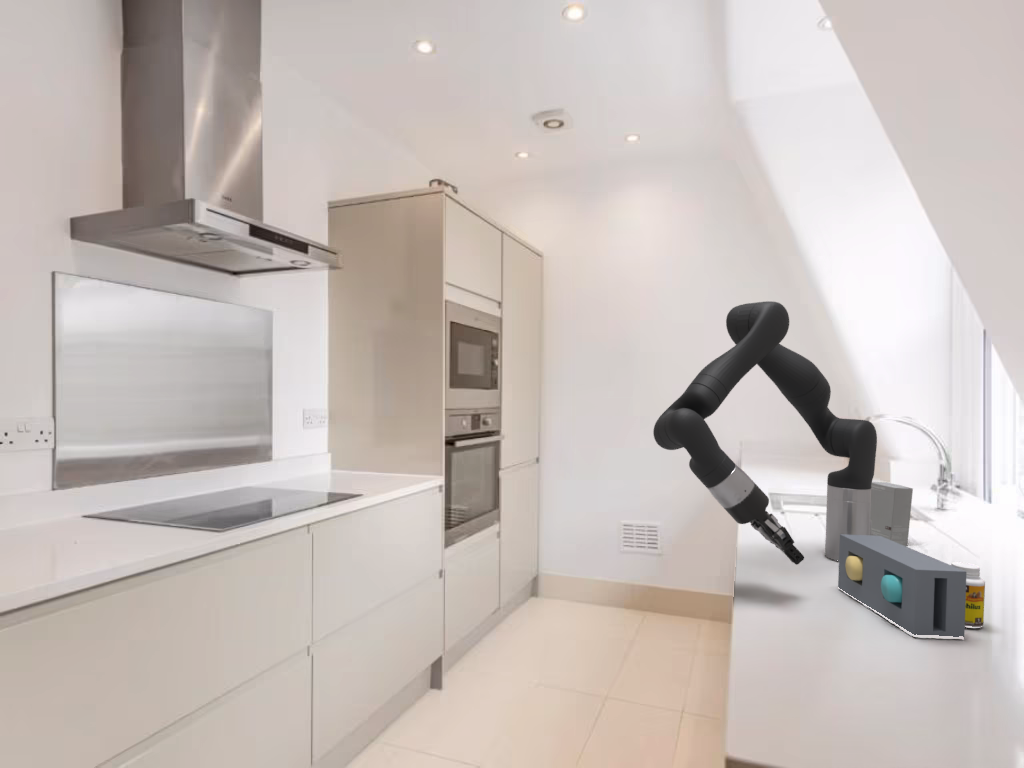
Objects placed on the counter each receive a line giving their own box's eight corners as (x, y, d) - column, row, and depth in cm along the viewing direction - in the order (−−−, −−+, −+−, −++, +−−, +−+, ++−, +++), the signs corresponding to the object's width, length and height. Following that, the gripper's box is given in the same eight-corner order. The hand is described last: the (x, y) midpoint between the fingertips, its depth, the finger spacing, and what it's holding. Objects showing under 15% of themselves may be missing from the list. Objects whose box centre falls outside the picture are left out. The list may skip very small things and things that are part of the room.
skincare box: (863, 539, 168) (865, 481, 168) (883, 538, 170) (885, 481, 170) (890, 547, 160) (892, 486, 160) (911, 546, 162) (913, 486, 162)
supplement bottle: (945, 625, 105) (947, 565, 105) (941, 615, 110) (943, 558, 110) (986, 633, 103) (988, 571, 103) (980, 622, 107) (982, 563, 108)
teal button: (895, 605, 103) (896, 579, 103) (880, 597, 108) (881, 571, 108) (915, 606, 103) (915, 580, 103) (899, 597, 107) (899, 572, 107)
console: (913, 638, 99) (916, 569, 99) (837, 589, 123) (839, 534, 123) (964, 640, 99) (966, 571, 99) (878, 591, 123) (880, 535, 123)
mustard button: (857, 583, 115) (858, 559, 115) (845, 576, 120) (845, 553, 120) (874, 583, 115) (875, 560, 115) (861, 576, 119) (862, 553, 119)
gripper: (765, 485, 111) (831, 556, 111) (739, 475, 124) (798, 538, 124) (734, 513, 111) (800, 585, 111) (711, 500, 124) (770, 564, 124)
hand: (799, 560), depth 117 cm, fingers closed
